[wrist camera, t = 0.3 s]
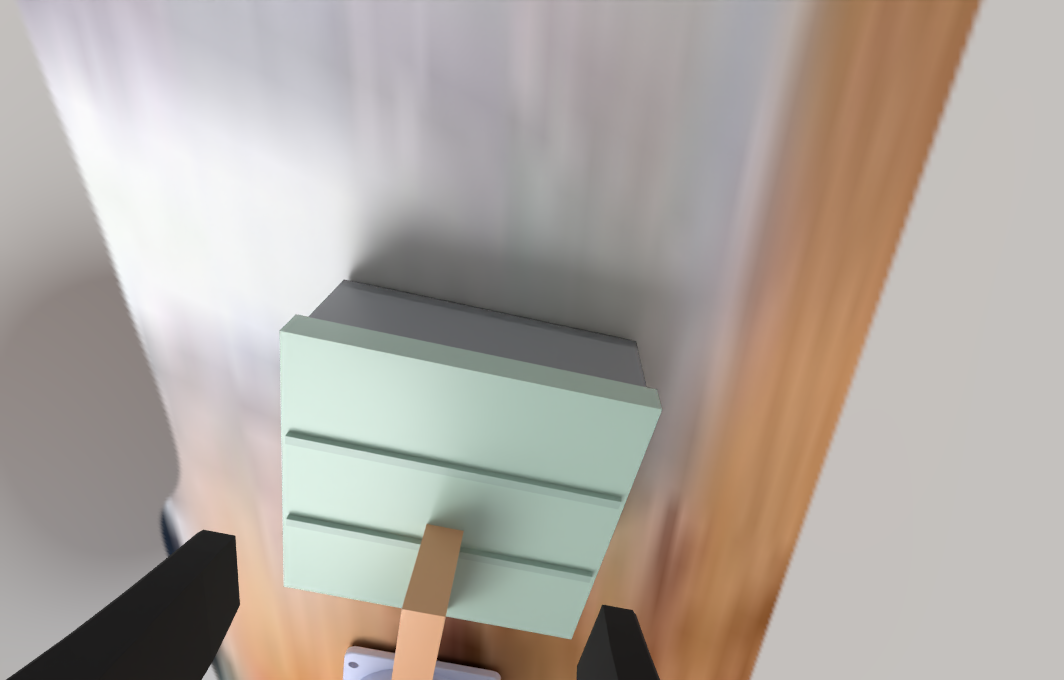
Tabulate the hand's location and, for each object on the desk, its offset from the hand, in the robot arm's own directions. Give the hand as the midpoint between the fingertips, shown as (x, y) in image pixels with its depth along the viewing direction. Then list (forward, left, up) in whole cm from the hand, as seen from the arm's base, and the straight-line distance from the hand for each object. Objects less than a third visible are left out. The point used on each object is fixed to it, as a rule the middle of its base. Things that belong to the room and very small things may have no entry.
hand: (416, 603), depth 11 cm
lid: (-3, 0, -7) cm, 8 cm away
